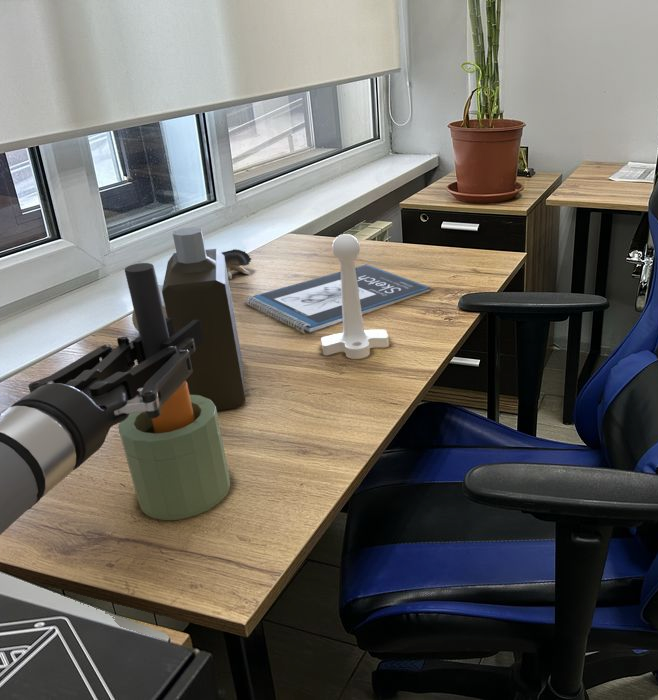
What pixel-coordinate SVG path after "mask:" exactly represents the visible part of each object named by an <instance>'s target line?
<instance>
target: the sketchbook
mask: <svg viewBox="0 0 658 700" xmlns="http://www.w3.org/2000/svg"><path fill="white" fill-rule="evenodd" d="M355 270H356V277H357V284H358V291H359V298H360V305H361V312H362V316H363V315H366V314H369V313H371V312H374V311H377V310H380V309H383V308H385V307H388V306H392V305H394V304H397V303H400V302H402V301H406V300H409V299H411V298H414V297H417V296H420V295H422V294H426V293H429V292H431V290H432V289H431V287H430V286H428V285H425V284H422V283H420V282H416V281H413V280H411V279H408V278H406V277H402V276H400V275H397V274H394V273H392V272H388V271H386V270H383V269H380V268H378V267H375V266H372V265H370V264H362V265H359V266H355ZM245 302H246V305H247V306H250V307H252V308H254V309H255V310H258V311H259V312H262V313H264V314H266V315H268V316H269V317H271V318H273V319H276V320H277V321H279V322H281V323H283V324H286V325H288V326H289V327H291V328H293V329H295V330H296V331H299V332H301V333H302V334H306V332H307V333H309V334H312V333H316V332H317V331H321V330H323V329H326V328H329V327H332V326H335V325H338V324H340V323H343V315H342V289H341V271H338V272H334V273H330V274H326V275H323V276H320V277H315V278H312V279H309V280H306V281H302V282H298V283H295V284H291V285H288V286H283V287H280V288H277V289H273V290H270V291H266V292H262V293H259V294H255V295H251V296H248V297H247V298H246V301H245Z"/></svg>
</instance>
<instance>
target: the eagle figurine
mask: <svg viewBox="0 0 658 700" xmlns="http://www.w3.org/2000/svg"><path fill="white" fill-rule="evenodd" d="M221 253H222V254H223V255H224V257H225V263H226V269H227V274H228V280H232V279H233V275H232V273H231V271H235V272H239V273H242V274H245V275H247V276H249V275H250V271H249V270H247V269H245V268H244V267H243V266H248V265H250V263H251V261H252V257H250V255H249V254H248V253H247V252H246V251H244V250H241V249H237V248H233V249H231V250H227V251H222V252H221Z"/></svg>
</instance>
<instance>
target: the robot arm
mask: <svg viewBox="0 0 658 700" xmlns="http://www.w3.org/2000/svg"><path fill="white" fill-rule="evenodd" d="M165 319H166V324H167V328H168V333H169V339H168V340H167V341H165V342H164V343H162V346H163V350H161V351H159V352H158V353H156V354H154V355H153V356H151V357H150V358H148V359H145V355H144V350H143V346H142V342H141V338H140V335H139V336H137V337H136V338H134V339H133V340H131V341H130V338H129V336H121V337H117V339H116V341H117V344H118V345H117V346H116V347H115V348H114V347H112V345H111V344H103V345H101V346H99V347H97V348H95V349H93V350H92V351H90V352H89V353H86V354H85V355H83V356H81V357H79V358H78V359H76V360H75V361H73V362H71V363H70V364H68V365H66V366H64V367H63V368H61V369H59V370H57V371H56V372H54V373H52V374H51V375H48V376H45V377H43V378H40V379H38V380H36V381H33V382H30V383H28V386H27V387H28V390H29V393H28V394H26V395H25V396H23V397H22V398H21V399H19V400H17V401H15V402H14V403H13V404H12V405H11V406H8V407H6V408H5V409H3V410H1V411H0V536H1V535H2V534H3V533H5V531H6V530H8V528H9V527H11V526H12V525H13V524H14V523H15V522H16V521H17V520H18V519H20V517H21V516H23V514H25V513H26V512H27V511H29V510H30V509H32V508H33V507H34V506H35V505H36V504H37V503H38V502H40V501H41V499H42V498H44V496H46V495H47V494H48V493H49V492H50V491H51V490H53V489H54V488H56V486H57V485H59V484H60V483H61V482H62V481H63V480H64V479H65V478H67V477H68V476H69V475H70V474H71V473H72V472H73V471H75V470H76V469H78V468H79V467H81V466H82V465H83V464H84V463H85V462H86V461H87V460H88V459H90V458H91V457H92V456H93V455H94V454H95V453H97V452H98V451H99V450H100V449H101V448H102V446H103V445H104V444H105V441H106V438H107V437H108V434H109V431H110V429H111V428H112V427H113V426H115V425H117V424H120V422H122V421H124V420H125V419H126V418H127V417H128V416H129V414H131V413H138V412H144V413H146V416H147V418H156V417H158V416H159V415H160V413H161V408H162V405H163V404H164V403H165V402H166V401H167V400H168V399H169V398H170V397H171V395H172V394H173V393H174V392H175V391H176V390H177V389H178V388H179V387H180V386H181V385H182V383H183V382H184V381H185V380H186V379H187V378H188V377H189V376H190V375H191V374H192V372H193V370H192V365H191V360H190V355H191V354H192V353H194V352H195V349H196V348H197V347H198V346H199V345H200V344H202V343H203V342H204V339H203V334H202V329H201V324H200V320H193V321H191V322H190V323H189V324H187V325H186V326H185V327H183V328H182V329H181V330H180V331H178V332H177V333H176V334H175V331H174V326H173V322H172V318H165ZM100 359H101V360H100ZM135 361H136V363H137V365H136V363H135Z"/></svg>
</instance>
